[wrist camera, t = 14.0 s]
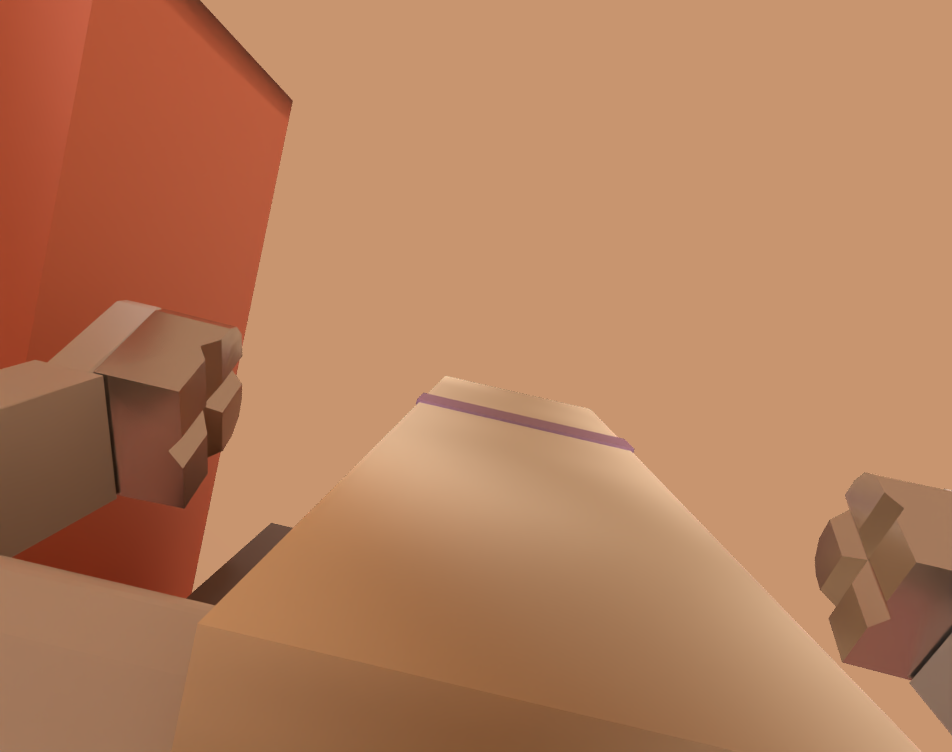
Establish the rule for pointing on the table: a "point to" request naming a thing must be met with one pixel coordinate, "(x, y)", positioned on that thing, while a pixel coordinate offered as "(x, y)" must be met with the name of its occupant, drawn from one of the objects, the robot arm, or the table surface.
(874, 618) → the robot arm
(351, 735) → the box
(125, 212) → the stand
